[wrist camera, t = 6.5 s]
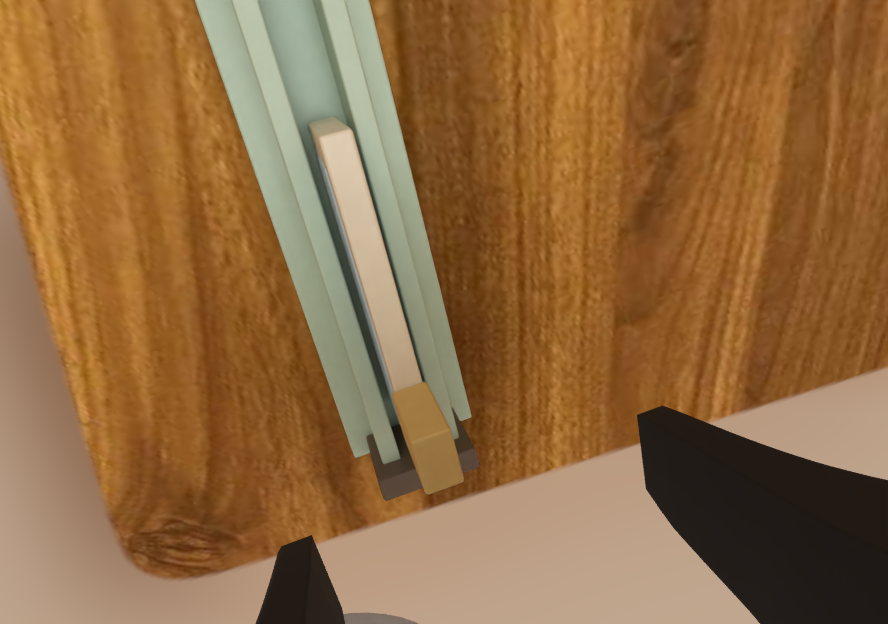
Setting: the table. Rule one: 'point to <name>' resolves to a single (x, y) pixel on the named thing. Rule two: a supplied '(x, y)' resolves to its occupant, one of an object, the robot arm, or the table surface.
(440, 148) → the table surface
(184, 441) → the table surface
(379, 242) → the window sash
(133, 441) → the table surface
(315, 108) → the green sliding track
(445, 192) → the table surface
